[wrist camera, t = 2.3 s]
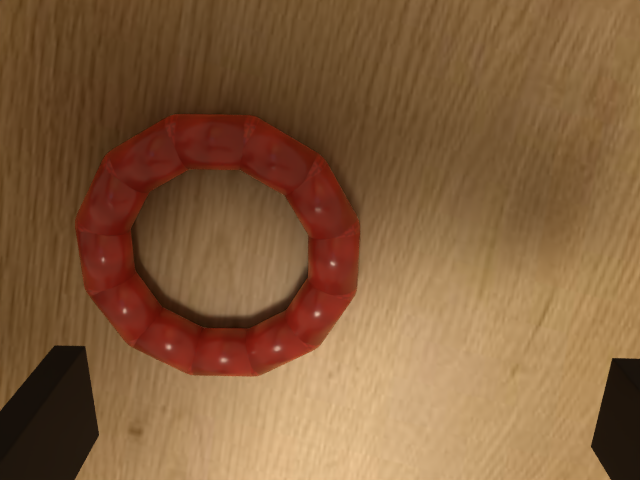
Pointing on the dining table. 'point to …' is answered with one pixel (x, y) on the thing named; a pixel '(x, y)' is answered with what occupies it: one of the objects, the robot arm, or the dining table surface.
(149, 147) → the ring
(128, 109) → the dining table surface
